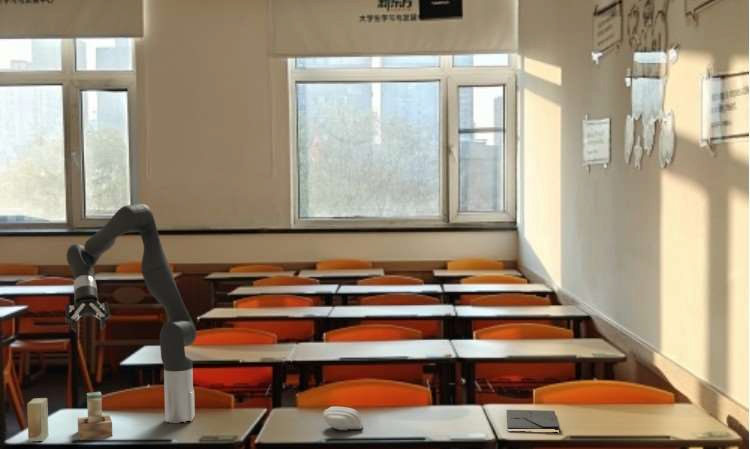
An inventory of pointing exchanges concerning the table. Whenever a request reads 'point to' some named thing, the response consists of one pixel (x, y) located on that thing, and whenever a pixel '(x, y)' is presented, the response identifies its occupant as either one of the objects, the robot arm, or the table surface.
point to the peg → (94, 407)
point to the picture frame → (531, 419)
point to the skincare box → (37, 419)
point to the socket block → (94, 428)
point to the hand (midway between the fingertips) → (88, 329)
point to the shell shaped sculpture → (342, 418)
